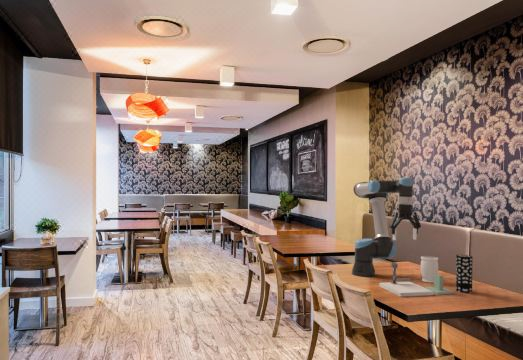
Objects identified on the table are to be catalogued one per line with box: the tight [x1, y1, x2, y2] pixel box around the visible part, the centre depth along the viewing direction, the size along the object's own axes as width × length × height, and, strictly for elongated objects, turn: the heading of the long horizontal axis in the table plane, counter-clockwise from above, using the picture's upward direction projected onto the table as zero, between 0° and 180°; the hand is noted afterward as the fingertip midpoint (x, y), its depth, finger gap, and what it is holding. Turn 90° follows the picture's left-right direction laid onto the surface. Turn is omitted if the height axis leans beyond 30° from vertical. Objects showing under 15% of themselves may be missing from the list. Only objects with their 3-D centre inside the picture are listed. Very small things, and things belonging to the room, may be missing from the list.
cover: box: [424, 273, 454, 296], centre depth 233 cm, size 12×10×10 cm
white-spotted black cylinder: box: [455, 254, 474, 294], centre depth 234 cm, size 8×8×20 cm
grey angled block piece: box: [390, 261, 412, 283], centre depth 241 cm, size 10×6×12 cm, turn 83°
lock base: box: [378, 281, 435, 297], centre depth 233 cm, size 23×20×2 cm
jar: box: [419, 255, 439, 284], centre depth 258 cm, size 11×10×15 cm
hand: (404, 239), depth 244 cm, fingers open, 13 cm apart
